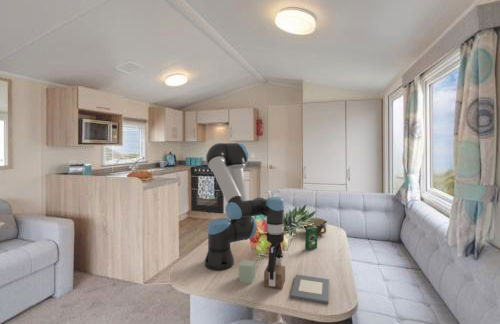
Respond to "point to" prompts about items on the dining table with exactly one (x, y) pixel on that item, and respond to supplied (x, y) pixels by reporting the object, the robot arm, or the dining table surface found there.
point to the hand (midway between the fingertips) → (275, 278)
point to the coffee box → (311, 238)
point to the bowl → (318, 224)
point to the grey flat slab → (311, 289)
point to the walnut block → (278, 277)
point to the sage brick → (247, 271)
